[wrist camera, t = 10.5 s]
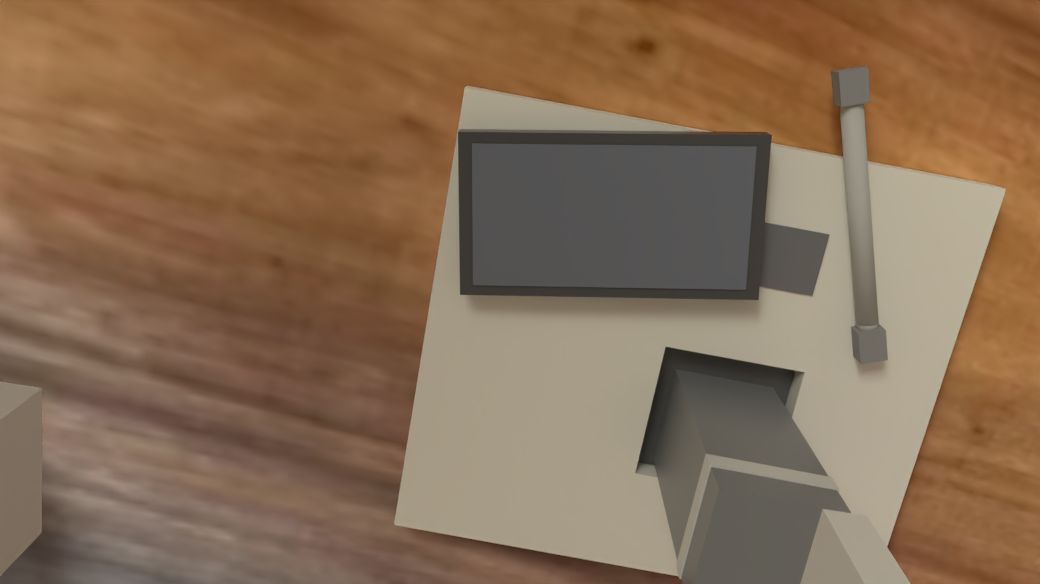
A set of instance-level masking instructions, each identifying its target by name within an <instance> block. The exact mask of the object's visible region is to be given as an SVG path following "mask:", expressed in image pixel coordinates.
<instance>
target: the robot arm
mask: <svg viewBox="0 0 1040 584" xmlns="http://www.w3.org/2000/svg"><path fill="white" fill-rule="evenodd" d="M41 533H42V388H38V387H32V386H25V385H19V384H12V383H6V382H0V576H1V575H2V574H3V573H4V572H5V571H6V570H7V569H8V568H9V567H10V566H11V565H12V564H13V562H14V561H15V560H16V559H17V558H18V557H19V556H20V555H21V554H22V553H23V552H24V551H25V550H26V549H27V548H28V547H29V546H30V545H31V543H32V542H33V541H34V540H35V539H36V538H37V537H38V536H39V535H40V534H41ZM801 584H910V582H909V581H908V579H907V578H906V576H905V574H904V573H903V571H902V570H901V568H900V567H899V565H898V563H897V562H896V560H895V559H894V557H893V556H892V554H891V552H890V551H889V549H888V548H887V546H886V545H885V543H884V541H883V540H882V538H881V537H880V535H879V534H878V532H877V530H876V529H875V527H874V526H873V524H872V523H871V521H870V520H869V518H868V516H865V515H859V514H852V513H846V512H839V511H833V510H827V509H822V513H821V516H820V519H819V523H818V526H817V530H816V533H815V536H814V540H813V543H812V546H811V550H810V553H809V557H808V560H807V563H806V567H805V570H804V573H803V577H802V580H801Z"/></svg>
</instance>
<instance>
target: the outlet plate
mask: <svg viewBox="0 0 1040 584" xmlns="http://www.w3.org/2000/svg"><path fill="white" fill-rule="evenodd" d="M460 129H500V130H598V131H696V132H711V131H706V130H701V129H696V128H690V127H685V126H680V125H674V124H669V123H664V122H658V121H653V120H648V119H642V118H637V117H632V116H627V115H621V114H616V113H611V112H605V111H600V110H595V109H589V108H584V107H579V106H573V105H568V104H563V103H558V102H552V101H547V100H542V99H536V98H531V97H526V96H520V95H515V94H510V93H504V92H499V91H494V90H489V89H483V88H478V87H473V86H466V87H465V89H464V95H463V101H462V107H461V114H460V120H459V126H458V131H459V130H460ZM868 174H869V188H870V203H871V217H872V232H873V246H874V261H875V275H876V290H877V304H878V319H879V324H880V325H881V326H882V327H883V328H884V329H885V330H886V339H887V354H888V360H885V361H878V362H871V363H864V364H860V363H859V362H858V361H857V359H856V358H855V357H854V356H853V347H852V334H851V326H856V317H855V303H854V290H853V277H852V264H851V251H850V237H849V224H848V211H847V198H846V185H845V172H844V158H843V156H839V155H834V154H828V153H823V152H818V151H812V150H807V149H802V148H796V147H791V146H786V145H780V144H775V143H771V150H770V162H769V175H768V187H767V200H766V212H765V225H764V238H763V250H762V263H761V275H760V288H759V300H727V299H669V298H611V297H553V296H496V295H460V260H459V179H458V132H457V138H456V144H455V151H454V157H453V163H452V169H451V175H450V182H449V188H448V194H447V200H446V206H445V213H444V219H443V225H442V231H441V237H440V244H439V250H438V256H437V262H436V268H435V274H434V281H433V287H432V293H431V299H430V305H429V312H428V318H427V324H426V330H425V336H424V343H423V349H422V355H421V361H420V367H419V373H418V380H417V386H416V392H415V398H414V404H413V411H412V417H411V423H410V429H409V435H408V442H407V448H406V454H405V460H404V466H403V473H402V479H401V485H400V491H399V497H398V503H397V510H396V516H395V522H394V525H397V526H403V527H408V528H414V529H419V530H425V531H430V532H436V533H441V534H447V535H452V536H458V537H463V538H469V539H475V540H480V541H486V542H491V543H497V544H502V545H508V546H513V547H519V548H524V549H530V550H535V551H541V552H547V553H552V554H558V555H563V556H569V557H574V558H580V559H585V560H591V561H596V562H602V563H607V564H613V565H619V566H624V567H630V568H635V569H641V570H646V571H652V572H657V573H663V574H668V575H674V576H679V575H678V571H677V567H676V563H677V558H676V553H675V549H674V545H673V541H672V537H671V532H670V528H669V524H668V520H667V515H666V511H665V507H664V503H663V499H662V494H661V490H660V486H659V482H658V477H657V473H656V469H655V465H654V460H653V456H654V452H655V448H656V444H657V440H658V436H659V432H660V428H661V424H662V420H663V416H664V412H665V408H666V404H667V400H668V396H669V392H670V388H671V384H672V380H673V376H674V372H675V369H678V370H683V371H689V372H694V373H699V374H705V375H710V376H715V377H721V378H726V379H731V380H737V381H742V382H747V383H752V384H758V385H763V386H768V387H773V388H774V390H775V391H776V393H777V395H778V396H779V398H780V399H781V401H782V403H783V404H784V406H785V407H786V409H787V411H788V412H789V414H790V415H791V417H792V419H793V420H794V422H795V423H796V425H797V427H798V428H799V430H800V431H801V433H802V435H803V436H804V438H805V439H806V441H807V443H808V444H809V446H810V447H811V449H812V451H813V452H814V454H815V455H816V457H817V459H818V460H819V462H820V463H821V465H822V467H823V468H824V470H825V471H826V473H827V475H828V476H829V477H832V478H833V480H834V482H835V483H836V485H837V486H838V488H839V494H840V495H841V497H842V499H843V500H844V502H845V503H846V505H847V507H848V508H849V510H850V511H851V513H852V514H859V515H865V516H868V518H869V520H870V521H871V523H872V524H873V526H874V527H875V529H876V530H877V532H878V534H879V535H880V537H881V538H882V540H883V541H884V543H885V545H886V546H888V543H889V540H890V537H891V534H892V531H893V528H894V525H895V522H896V519H897V516H898V513H899V510H900V507H901V504H902V501H903V498H904V495H905V492H906V489H907V486H908V483H909V480H910V477H911V474H912V471H913V468H914V465H915V462H916V459H917V456H918V453H919V450H920V447H921V444H922V441H923V438H924V435H925V432H926V429H927V426H928V423H929V420H930V417H931V414H932V411H933V408H934V405H935V402H936V399H937V396H938V393H939V390H940V387H941V384H942V381H943V378H944V375H945V372H946V369H947V366H948V363H949V360H950V357H951V354H952V351H953V348H954V345H955V342H956V339H957V336H958V333H959V330H960V327H961V324H962V321H963V318H964V315H965V312H966V309H967V306H968V303H969V300H970V297H971V294H972V291H973V288H974V285H975V282H976V279H977V276H978V273H979V269H980V266H981V263H982V260H983V257H984V254H985V251H986V248H987V245H988V242H989V239H990V236H991V233H992V230H993V227H994V224H995V221H996V218H997V215H998V212H999V209H1000V206H1001V203H1002V200H1003V197H1004V194H1005V191H1006V189H1004V188H1001V187H998V186H995V185H992V184H987V183H982V182H977V181H972V180H966V179H961V178H956V177H950V176H945V175H940V174H934V173H929V172H924V171H918V170H913V169H908V168H903V167H897V166H892V165H887V164H881V163H876V162H871V161H868Z"/></svg>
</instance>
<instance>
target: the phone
mask: <svg viewBox="0 0 1040 584" xmlns="http://www.w3.org/2000/svg"><path fill="white" fill-rule="evenodd" d="M771 137H772V135H770V134H768V133H766V132H696V131H598V130H500V129H460V130H459V131H458V179H459V260H460V295H496V296H553V297H611V298H669V299H727V300H759V288H760V275H761V263H762V250H763V238H764V225H765V212H766V200H767V187H768V175H769V162H770V150H771Z"/></svg>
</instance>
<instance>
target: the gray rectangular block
mask: <svg viewBox="0 0 1040 584" xmlns="http://www.w3.org/2000/svg"><path fill="white" fill-rule="evenodd" d="M653 460H654V465H655V469H656V473H657V477H658V482H659V486H660V490H661V494H662V499H663V503H664V507H665V511H666V515H667V520H668V524H669V528H670V532H671V537H672V541H673V545H674V549H675V553H676V558H677V563H676V567H677V571H678V575H679V579H682V583H683V584H801V580H802V577H803V573H804V570H805V567H806V563H807V560H808V557H809V553H810V550H811V546H812V543H813V540H814V536H815V533H816V530H817V526H818V523H819V519H820V516H821V513H822V509H827V510H833V511H839V512H846V513H851V511H850V510H849V508H848V507H847V505H846V503H845V502H844V500H843V499H842V497H841V495H840V494H839V488H838V486H837V485H836V483H835V482H834V480H833V478H832V477H829V476H828V475H827V473H826V471H825V470H824V468H823V467H822V465H821V463H820V462H819V460H818V459H817V457H816V455H815V454H814V452H813V451H812V449H811V447H810V446H809V444H808V443H807V441H806V439H805V438H804V436H803V435H802V433H801V431H800V430H799V428H798V427H797V425H796V423H795V422H794V420H793V419H792V417H791V415H790V414H789V412H788V411H787V409H786V407H785V406H784V404H783V403H782V401H781V399H780V398H779V396H778V395H777V393H776V391H775V390H774V388H773V387H768V386H763V385H758V384H752V383H747V382H742V381H737V380H731V379H726V378H721V377H715V376H710V375H705V374H699V373H694V372H689V371H683V370H678V369H675V372H674V376H673V380H672V384H671V388H670V392H669V396H668V400H667V404H666V408H665V412H664V416H663V420H662V424H661V428H660V432H659V436H658V440H657V444H656V448H655V452H654V456H653Z"/></svg>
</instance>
